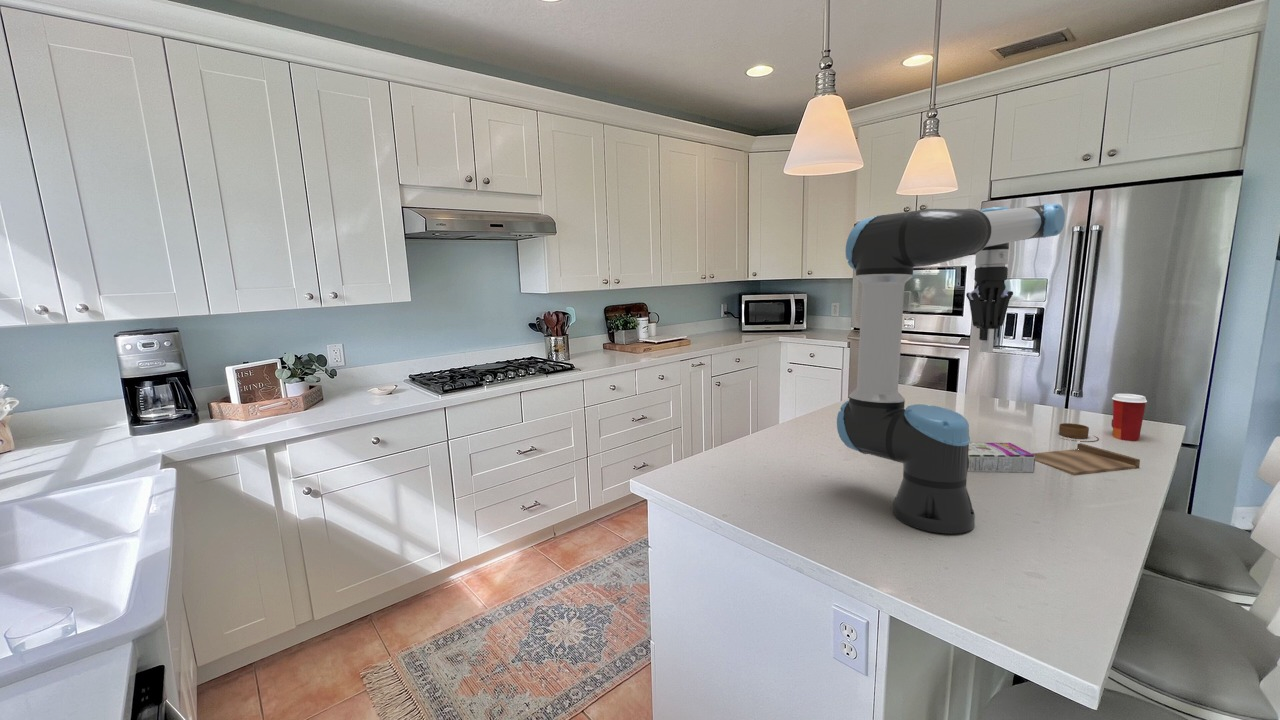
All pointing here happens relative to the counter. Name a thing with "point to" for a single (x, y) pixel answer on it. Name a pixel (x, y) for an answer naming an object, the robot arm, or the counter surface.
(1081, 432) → the place setting
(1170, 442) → the counter surface
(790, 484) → the counter surface
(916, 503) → the robot arm
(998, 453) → the candy bar box
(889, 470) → the counter surface
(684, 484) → the counter surface
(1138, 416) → the paper cup
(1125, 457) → the board
